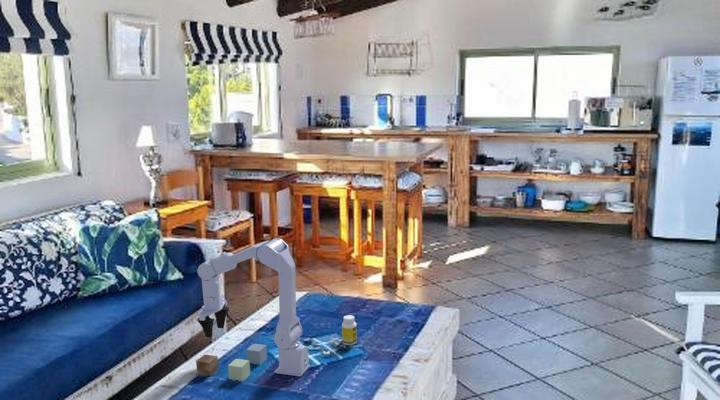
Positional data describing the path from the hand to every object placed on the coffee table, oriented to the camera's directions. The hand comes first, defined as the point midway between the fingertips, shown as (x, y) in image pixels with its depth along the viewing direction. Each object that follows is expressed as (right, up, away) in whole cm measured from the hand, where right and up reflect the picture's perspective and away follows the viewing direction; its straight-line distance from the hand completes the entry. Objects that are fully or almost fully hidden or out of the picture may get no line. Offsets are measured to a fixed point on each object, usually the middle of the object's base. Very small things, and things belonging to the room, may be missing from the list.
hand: (214, 332), depth 213 cm
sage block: (+11, -12, -11) cm, 20 cm away
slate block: (+15, -10, 0) cm, 18 cm away
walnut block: (-1, -12, -7) cm, 14 cm away
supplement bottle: (+46, -7, +12) cm, 48 cm away
